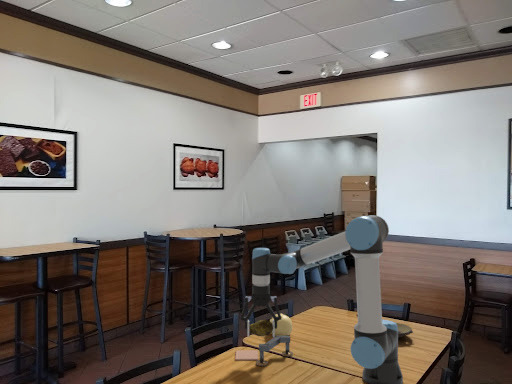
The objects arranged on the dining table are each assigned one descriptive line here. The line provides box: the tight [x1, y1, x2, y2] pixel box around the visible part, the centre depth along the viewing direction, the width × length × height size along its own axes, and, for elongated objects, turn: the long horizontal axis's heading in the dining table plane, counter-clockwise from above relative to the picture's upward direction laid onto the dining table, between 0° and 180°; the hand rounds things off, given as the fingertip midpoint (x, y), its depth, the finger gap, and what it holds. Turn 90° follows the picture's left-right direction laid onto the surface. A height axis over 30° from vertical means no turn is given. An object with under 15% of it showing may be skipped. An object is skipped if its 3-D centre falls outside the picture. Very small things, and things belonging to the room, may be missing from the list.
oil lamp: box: [356, 313, 414, 338], centre depth 214 cm, size 22×30×8 cm
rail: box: [255, 335, 294, 367], centre depth 183 cm, size 7×21×8 cm, turn 133°
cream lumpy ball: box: [269, 312, 293, 337], centre depth 215 cm, size 12×12×11 cm
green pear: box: [249, 319, 273, 338], centre depth 178 cm, size 8×13×8 cm, turn 24°
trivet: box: [234, 349, 259, 361], centre depth 186 cm, size 10×10×1 cm
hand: (260, 335), depth 178 cm, fingers closed on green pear, 10 cm apart
